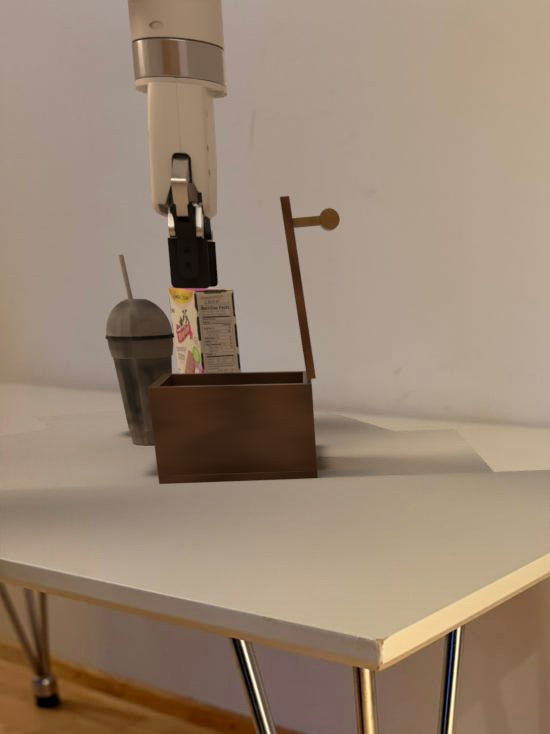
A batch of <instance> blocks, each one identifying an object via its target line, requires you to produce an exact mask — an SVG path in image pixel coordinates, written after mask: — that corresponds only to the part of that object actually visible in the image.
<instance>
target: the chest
mask: <svg viewBox="0 0 550 734" xmlns="http://www.w3.org/2000/svg"><path fill="white" fill-rule="evenodd" d="M148 396H149V404H150V412H151V420H152V429H153V437H154V445H153V446H154V452H155V453H154V454H155V462H156V469H157V476H158V477H157V478H158V484H159V485H170V484H197V483H198V484H199V483H201V484H202V483H225V482H226V483H228V482H254V481H255V482H257V481H281V480H284V481H285V480H307V479H308V480H310V479H319V476H318V459H317V444H316V443H317V442H316V430H315V429H316V427H315V414H314V413H315V411H314V395H313V381H312V379H307V375H306V370H285V371H284V370H283V371H280V370H279V371H277V370H276V371H275V370H274V371H241V372H224V373H178V372H177V373H173V372H172V374H163V375H162V376H161V377H160V378H159V379H158V380H156V381H155V382H154V383H153V384H152V385H151V386H149V387H148Z"/></svg>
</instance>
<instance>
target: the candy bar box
mask: <svg viewBox="0 0 550 734" xmlns="http://www.w3.org/2000/svg"><path fill="white" fill-rule="evenodd" d="M167 292H168V293H167V294H168V299H169V300H168V302H169V310H170V316H171V327H172V333H173V334H174V338H173V343H174V349H175V357H176V365H177V373H224V372H242V368H241V367H242V366H241V358H240V357H241V355H240V346H239V336H238V333H239V332H238V325H237V317H236V306H235V296H234V289H231V288H223V287H217V286H215V287H209V288H207V289H196V288H174V287H173V286H170V287H167Z"/></svg>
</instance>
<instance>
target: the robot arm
mask: <svg viewBox="0 0 550 734" xmlns="http://www.w3.org/2000/svg"><path fill="white" fill-rule="evenodd" d="M127 9H128V18H129V30H130V43H131V52H132V64H133V75H134V84H135V86H134V87H135V90H136V91H138V92H139V93H143V94H146V114H147V115H146V118H147V137H148V138H147V139H148V140H147V141H148V155H149V157H148V158H149V170H150V171H149V173H150V195H151V208H152V209H153V211H154V212H156V213H157V214H158V215H160V216H162V217H165V218H168V220H167V222H168V223H167V224H168V227H167V229H168V237H167V248H168V262H169V275H170V284H171V287H174V288H196V289H207V288H209V287H217V286H218V285H219V277H218V264H217V263H218V262H217V261H218V260H217V247H216V241H214V231H213V224H212V219H214V217H215V216H217V214H218V163H217V162H218V161H217V159H218V158H217V142H216V140H217V139H216V123H215V121H216V120H215V107H214V105H215V104H214V100H216V99H221V98H224V97H227V96H228V89H227V86H228V85H227V71H226V70H227V68H226V53H225V36H224V22H223V21H224V20H223V4H222V0H127Z"/></svg>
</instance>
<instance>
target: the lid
mask: <svg viewBox="0 0 550 734" xmlns="http://www.w3.org/2000/svg"><path fill="white" fill-rule="evenodd" d="M279 201H280V208H281V214H282V221H283V227H284V234H285V241H286V245H287V246H286V248H287V253H288V254H287V255H288V262H289V269H290V274H291V281H292V287H293V295H294V301H295V308H296V314H297V321H298V325H299V326H298V328H299V335H300V342H301V347H302V348H301V349H302V354H303V362H304V367H305V371H306V375H307V379H311V380H312V379H313V380H314V379H317V375H316V369H315V362H314V355H313V347H312V341H311V334H310V327H309V321H308V315H307V307H306V300H305V294H304V293H305V292H304V286H303V281H302V280H303V279H302V273H301V267H300V259H299V253H298V245H297V239H296V232H295V229H297V228H308V227H320V228H321V229H322V230H324V231H326V232H332V231H334V230H335V229H336V228H337V227H338V226H339V224H340V223H341V222H340V220H341V219H340V214H339V213H338V211H337V210H335V209H334V208H332V207H326V208H324V209H323V210H322V211H321V212H320V214H319V215H312V216H299V217H293V211H292V206H291V199H290V196H289V195H283V196H279Z"/></svg>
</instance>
